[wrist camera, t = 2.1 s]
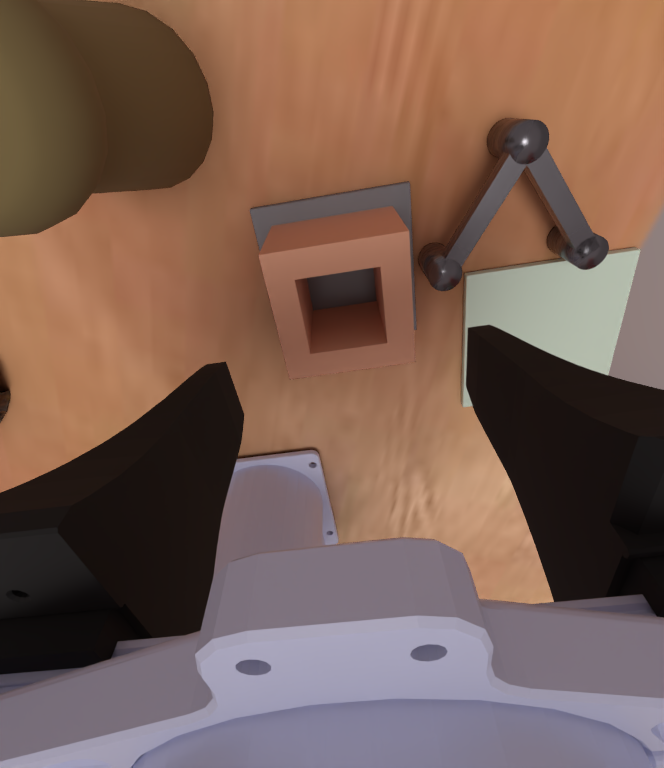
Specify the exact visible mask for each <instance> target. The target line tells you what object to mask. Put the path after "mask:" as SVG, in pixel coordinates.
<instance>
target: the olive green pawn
mask: <svg viewBox="0 0 664 768" xmlns="http://www.w3.org/2000/svg"><path fill="white" fill-rule="evenodd" d="M212 127H213V108H212V103H211V99H210V94H209V89H208V84H207V82H206V79H205V77H204V75H203V73H202V71H201V69H200V67H199V65H198V63H197V61H196V59H195V57H194V55H193V53H192V52H191V51H190V50H189V48H188V47H187V46H186V45H185V44H184V42H183V41H182V40H181V39H180V38H179V36H178V35H177V34H176V33H175V32H174V30H173V29H171V28H170V27H169V26H167V25H166V24H164V23H163V22H161V21H160V20H158V19H157V18H156V17H154V16H153V15H151V14H150V13H148V12H147V11H144V10H140V9H137V8H133V7H130V6H126V5H123V4H119V3H108V2H97V1H86V0H0V237H7V236H17V235H27V234H37V233H40V232H42V231H44V230H46V229H48V228H50V227H52V226H54V225H56V224H58V223H60V222H62V221H63V220H65V219H67V218H69V217H71V216H73V215H75V214H77V212H78V211H79V210H80V208H81V207H82V206H83V205H84V203H85V202H86V201H87V199H88V198H89V197H90V195H91V194H92V193H107V192H122V191H137V190H151V189H160V188H170V187H173V186H175V185H176V184H178V183H180V182H182V181H184V180H186V179H188V178H190V176H191V175H192V174H193V173H194V172H195V171H196V169H197V168H198V167H199V166H200V165H201V164H202V163H203V161H204V158H205V156H206V153H207V151H208V148H209V145H210V143H211V140H212Z"/></svg>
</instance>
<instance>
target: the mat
mask: <svg viewBox="0 0 664 768" xmlns="http://www.w3.org/2000/svg"><path fill="white" fill-rule="evenodd" d="M388 206H393V207H394V209H395V210H396V212H397V213H398V215H399V216H400V218H401V219H402V221H403V222H404V224H405V225H406V227H407V228H408V230H409V237H410V257H411V278H412V298H413V319H414V330H417V329H416V307H415V285H414V262H413V240H412V218H411V196H410V182H409V181H407V182H402V183H396V184H390V185H384V186H378V187H372V188H366V189H360V190H355V191H349V192H343V193H337V194H331V195H325V196H319V197H313V198H308V199H302V200H296V201H290V202H284V203H278V204H272V205H266V206H261V207H255V208H251V209H250V213H251V217H252V221H253V226H254V230H255V234H256V238H257V242H258V246H259V250H261V248H262V246H263V244H264V242H265V239H266V237H267V235H268V233H269V231H270V229H271V226H274V225H280V224H286V223H292V222H298V221H304V220H310V219H316V218H322V217H328V216H334V215H340V214H346V213H352V212H358V211H364V210H370V209H376V208H382V207H388ZM307 282H308V287H309V292H310V297H311V302H312V307H313V310H320V309H327V308H334V307H340V306H347V305H354V304H360V303H367V302H374V301H377V300H376V290H375V280H374V270H373V268H368V269H362V270H355V271H349V272H342V273H336V274H329V275H323V276H317V277H310V278H307Z"/></svg>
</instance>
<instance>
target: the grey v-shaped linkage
mask: <svg viewBox="0 0 664 768" xmlns="http://www.w3.org/2000/svg"><path fill="white" fill-rule="evenodd" d="M548 142H549V132H548V128H547V127H546V125H545V124H544V123H543V122H541V121H539V120H529V119H513V118H505V119H502V120H500V121H498V122H497V123H496V124H495V125H494V126H493V127H492V128H491V130H490V132H489V134H488V138H487V147H488V150H489V152H490V153H491V154H492V155H493V156H495V157H498V158H499V160H498V162H497V163H496V165H495V167H494V168H493V170H492V172H491V173H490V175H489V177H488V178H487V180H486V181H485V183H484V185H483V186H482V188H481V190H480V191H479V193H478V195H477V196H476V198H475V200H474V201H473V203H472V205H471V206H470V208H469V210H468V211H467V213H466V214H465V216H464V218H463V219H462V221H461V223H460V224H459V226H458V228H457V229H456V231H455V233H454V234H453V236H452V238H451V239H450V241H449V243H448V244H447V246H446V247H444V246H443V245H442V244H440V243H430V244H428V245H426V246H425V247H424V248H423V249H422V250H421V252H420V254H419V258H418V261H419V265H420V267H421V268H422V270H423V272H424V273H425V275H426V277H427V278H428V280H429V282H430V284H431V285H432V287H434V288H435V289H437V290H439V291H447V290H450V289H452V288H454V287H455V286H456V285H457V284H458V283H459V281H460V280H461V277H462V268H461V267H462V265H463V263H464V262H465V260H466V259H467V257H468V256H469V254H470V253H471V251H472V249H473V248H474V246H475V245H476V243H477V242H478V240H479V239H480V237H481V235H482V234H483V232H484V231H485V229H486V228H487V226H488V225H489V223H490V221H491V220H492V218H493V217H494V215H495V214H496V212H497V211H498V209H499V207H500V206H501V204H502V203H503V201H504V200H505V198H506V197H507V195H508V194H509V192H510V190H511V189H512V187H513V186H514V184H515V183H516V181H517V180H518V178H519V176H520V175H521V173H522V172H523V170H524V171H525V173H526V175H527V176H528V178H529V180H530V181H531V183H532V185H533V187H534V188H535V190H536V192H537V193H538V195H539V197H540V199H541V200H542V202H543V204H544V205H545V207H546V209H547V211H548V212H549V214H550V216H551V217H552V219H553V221H554V222H555V224H556V226H555V227H554V228H553V229H552V230H551V231H550V233H549V235H548V238H547V246H548V248H549V249H550V250H551V251H552V252H554V253H556V254H557V255H559V256H560V257H562V258H563V259H565V260H567V261H568V262H570V263H571V264H573V265H574V266H576V267H577V268H579V269H582V270H588V269H592V268H594V267H596V266H598V265H599V264H600V263H601V262H602V261H603V260H604V259H605V257H606V256H607V253H608V250H609V245H608V242H607V240H606V239H605V238H603V237H601V236H599V235H597V234H595V233H593V232H592V230H591V229H590V227H589V225H588V223H587V221H586V219H585V218H584V216H583V214H582V212H581V210H580V208H579V206H578V205H577V203H576V201H575V199H574V197H573V195H572V194H571V192H570V190H569V188H568V186H567V184H566V183H565V181H564V179H563V177H562V175H561V173H560V171H559V170H558V168H557V166H556V164H555V162H554V160H553V159H552V157H551V155H550V153H549V151H548V149H547V145H548Z"/></svg>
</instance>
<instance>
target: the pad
mask: <svg viewBox="0 0 664 768" xmlns="http://www.w3.org/2000/svg"><path fill="white" fill-rule="evenodd" d="M640 250H641V249H638V248H636V247H633V248H626V249H620V250H613V251H608V253H607V256H606V257H605V259H604V260H603V261H602V262H601V263H600V264H599V265H598V266H596V267H594V268H592V269H588V270H582V269H579V268H577V267H576V266H574V265H573V264H571V263H570V262H568V261H567V260H565V259H563V258H560V259H554V260H547V261H541V262H534V263H527V264H521V265H514V266H508V267H501V268H495V269H488V270H481V271H475V272H468V273H464V308H463V349H462V390H461V404H462V406H463V407H469V406H473V405H472V402H471V400H470V397H469V394H468V391H467V388H466V368H467V337H468V328H469V327H476V326H483V325H492V326H494V327H497V328H499V329H501V330H503V331H505V332H507V333H509V334H511V335H513V336H515V337H517V338H519V339H521V340H523V341H525V342H527V343H529V344H531V345H533V346H535V347H537V348H539V349H542V350H544V351H546V352H548V353H550V354H552V355H555V356H557V357H559V358H562V359H564V360H567V361H569V362H571V363H574V364H576V365H579V366H582V367H584V368H587V369H590V370H593V371H596V372H599V373H602V374H605V375H608V373H609V370H610V366H611V362H612V358H613V354H614V351H615V347H616V343H617V339H618V335H619V331H620V327H621V323H622V320H623V316H624V312H625V308H626V304H627V300H628V297H629V293H630V289H631V284H632V281H633V277H634V273H635V269H636V265H637V262H638V258H639V254H640Z"/></svg>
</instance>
